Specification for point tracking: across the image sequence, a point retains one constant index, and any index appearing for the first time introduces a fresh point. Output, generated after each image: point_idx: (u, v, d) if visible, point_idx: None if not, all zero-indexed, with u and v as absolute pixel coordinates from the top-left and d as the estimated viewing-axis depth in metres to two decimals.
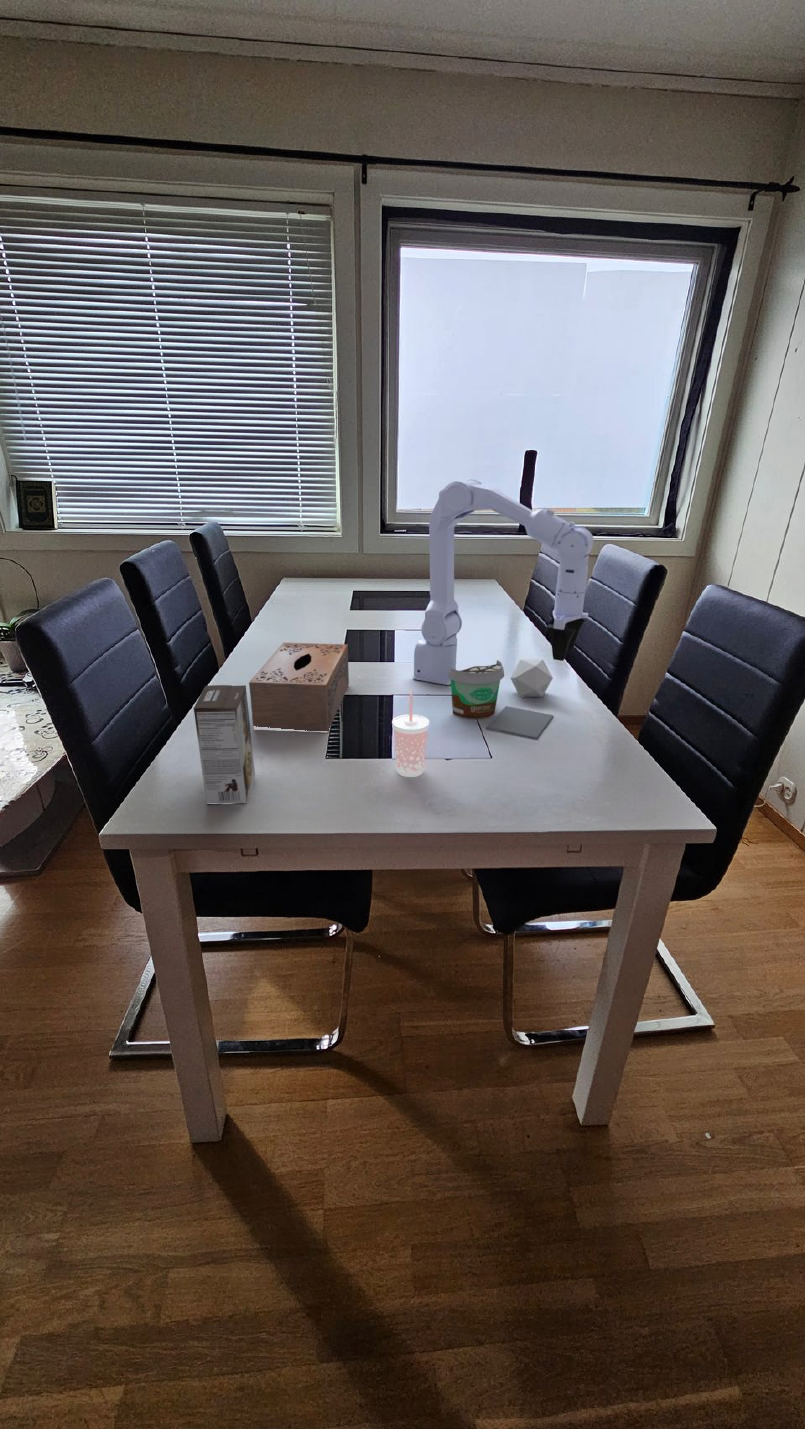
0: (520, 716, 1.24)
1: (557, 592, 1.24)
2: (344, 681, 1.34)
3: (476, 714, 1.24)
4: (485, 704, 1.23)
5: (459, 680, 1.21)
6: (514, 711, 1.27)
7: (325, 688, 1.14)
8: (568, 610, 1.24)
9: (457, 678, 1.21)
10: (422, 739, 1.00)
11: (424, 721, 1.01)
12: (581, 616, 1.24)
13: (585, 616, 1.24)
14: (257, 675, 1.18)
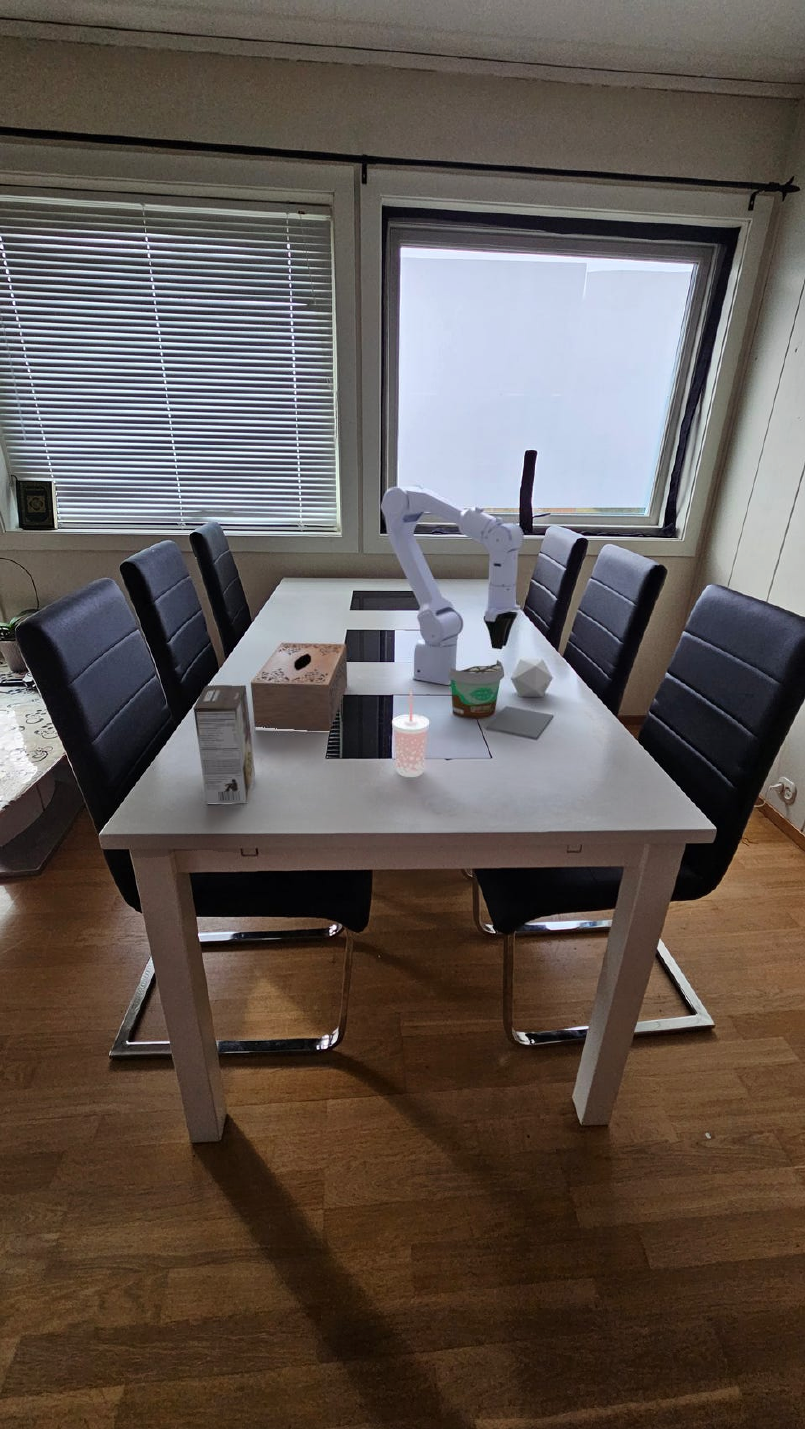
0: (520, 716, 1.24)
1: (489, 586, 1.28)
2: (343, 681, 1.35)
3: (476, 714, 1.24)
4: (485, 704, 1.23)
5: (459, 680, 1.21)
6: (514, 711, 1.27)
7: (327, 688, 1.14)
8: (499, 603, 1.27)
9: (457, 678, 1.21)
10: (422, 739, 1.00)
11: (424, 721, 1.01)
12: (513, 608, 1.28)
13: (517, 608, 1.28)
14: (258, 676, 1.18)
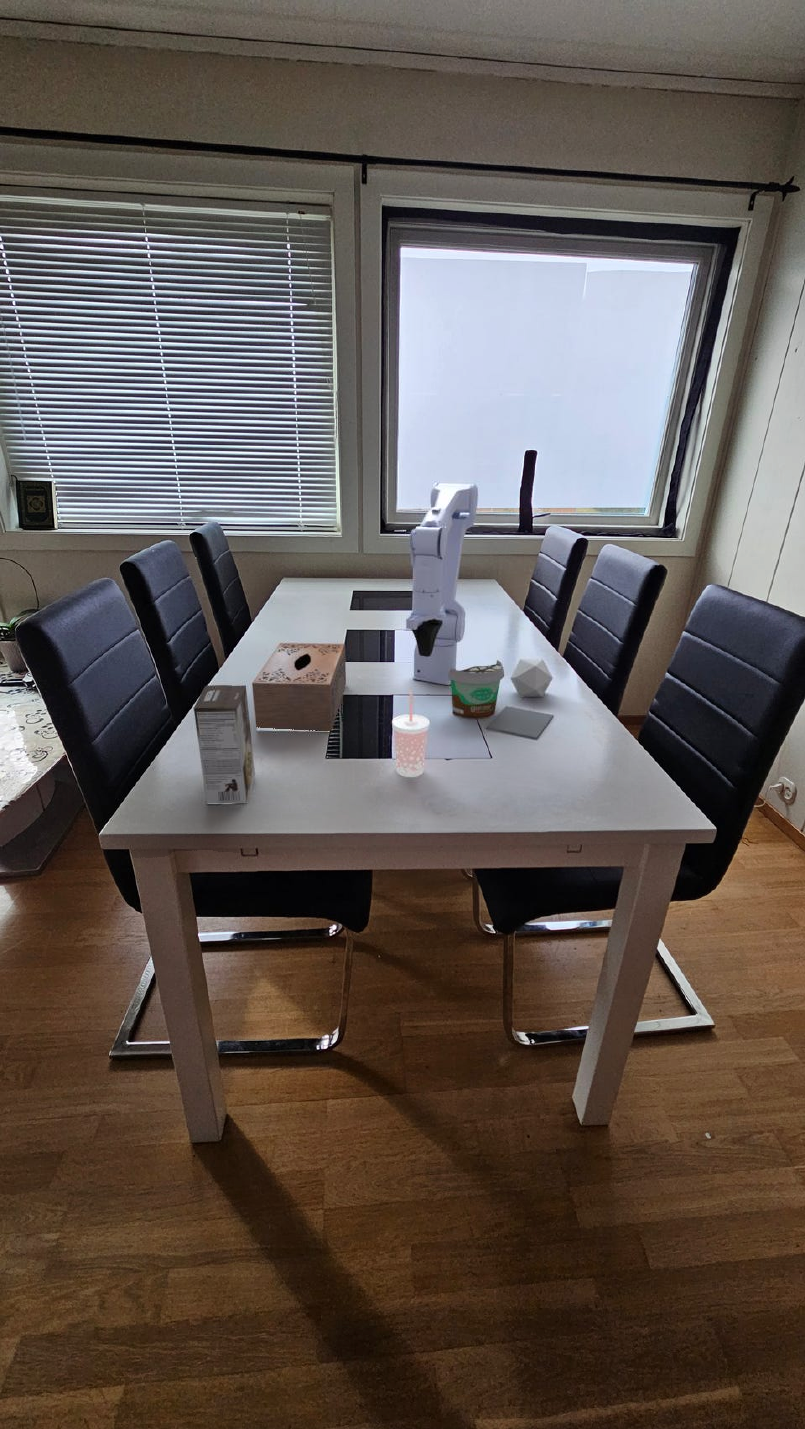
0: (520, 716, 1.24)
1: (413, 591, 1.22)
2: None
3: (476, 714, 1.24)
4: (485, 704, 1.23)
5: (459, 680, 1.21)
6: (514, 711, 1.27)
7: (329, 687, 1.14)
8: (423, 610, 1.21)
9: (457, 678, 1.21)
10: (422, 739, 1.00)
11: (424, 721, 1.01)
12: (437, 616, 1.22)
13: (441, 616, 1.22)
14: (259, 676, 1.17)
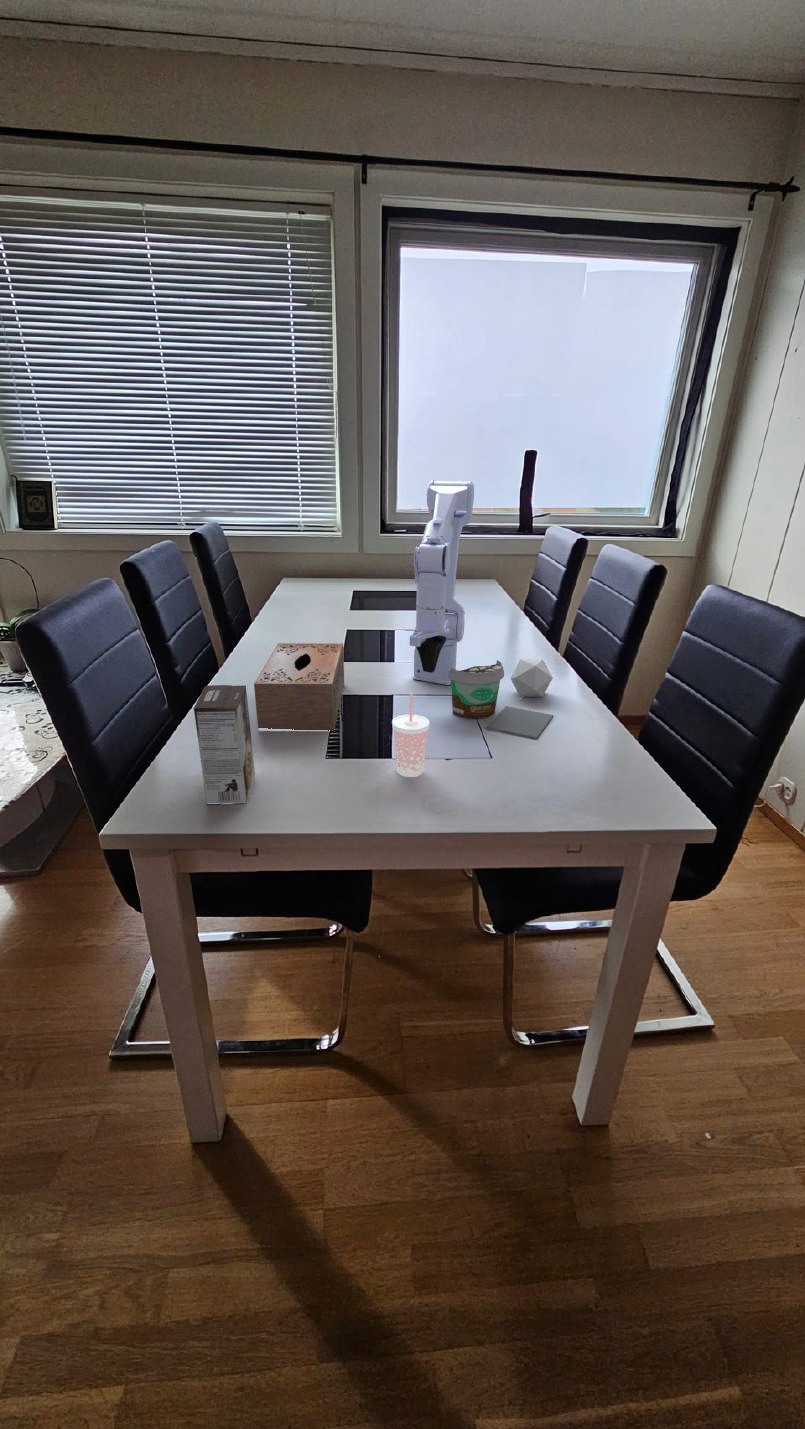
0: (520, 716, 1.24)
1: (416, 608, 1.22)
2: None
3: (476, 714, 1.24)
4: (485, 704, 1.23)
5: (459, 680, 1.21)
6: (514, 711, 1.27)
7: (331, 687, 1.14)
8: (426, 626, 1.21)
9: (457, 678, 1.21)
10: (422, 739, 1.00)
11: (424, 721, 1.01)
12: (441, 632, 1.22)
13: (445, 632, 1.22)
14: (261, 676, 1.17)
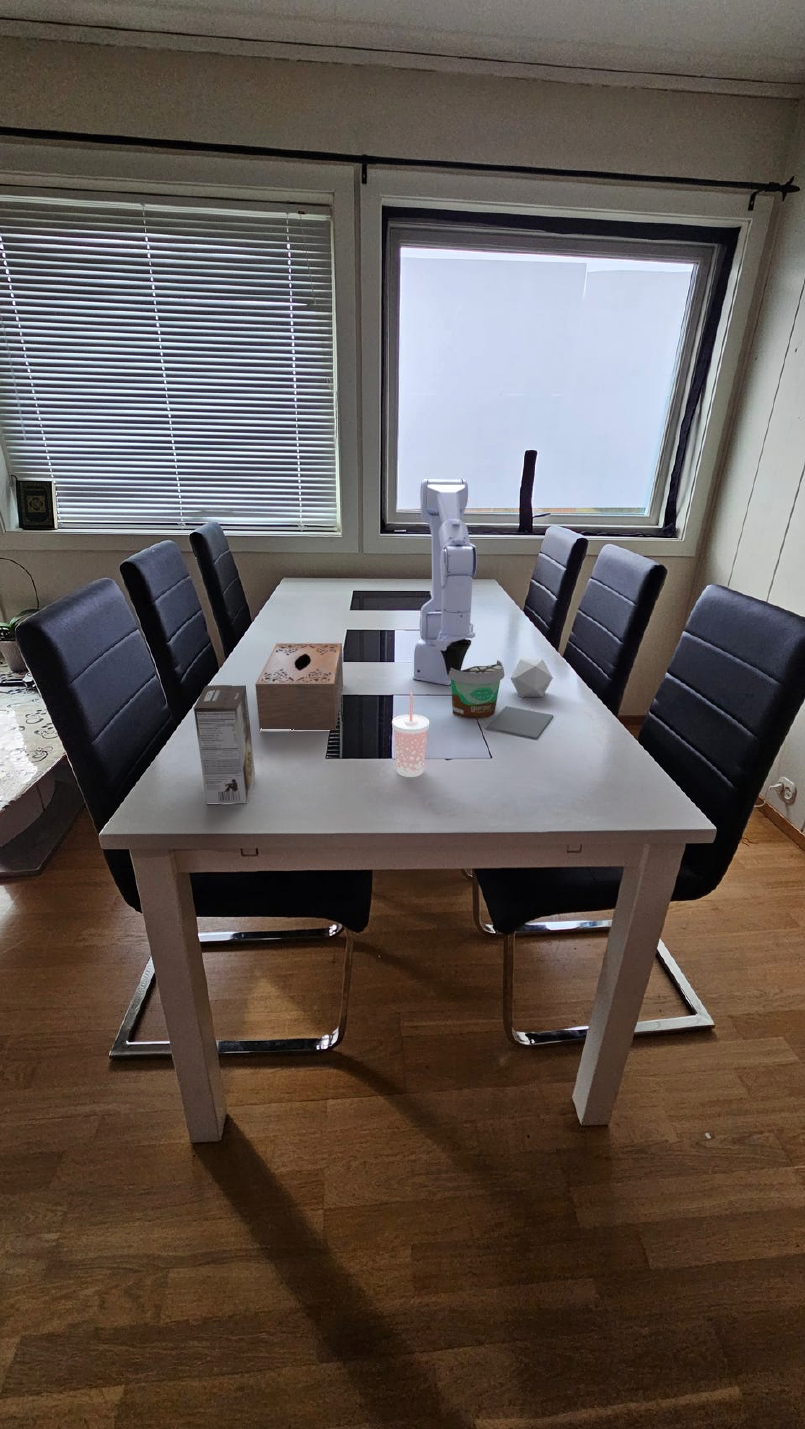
0: (520, 716, 1.24)
1: (442, 611, 1.20)
2: (341, 680, 1.35)
3: (476, 714, 1.24)
4: (485, 704, 1.23)
5: (459, 680, 1.21)
6: (514, 711, 1.27)
7: (333, 687, 1.14)
8: (452, 630, 1.19)
9: (457, 678, 1.21)
10: (422, 739, 1.00)
11: (424, 721, 1.01)
12: (467, 636, 1.20)
13: (471, 636, 1.20)
14: (262, 677, 1.17)
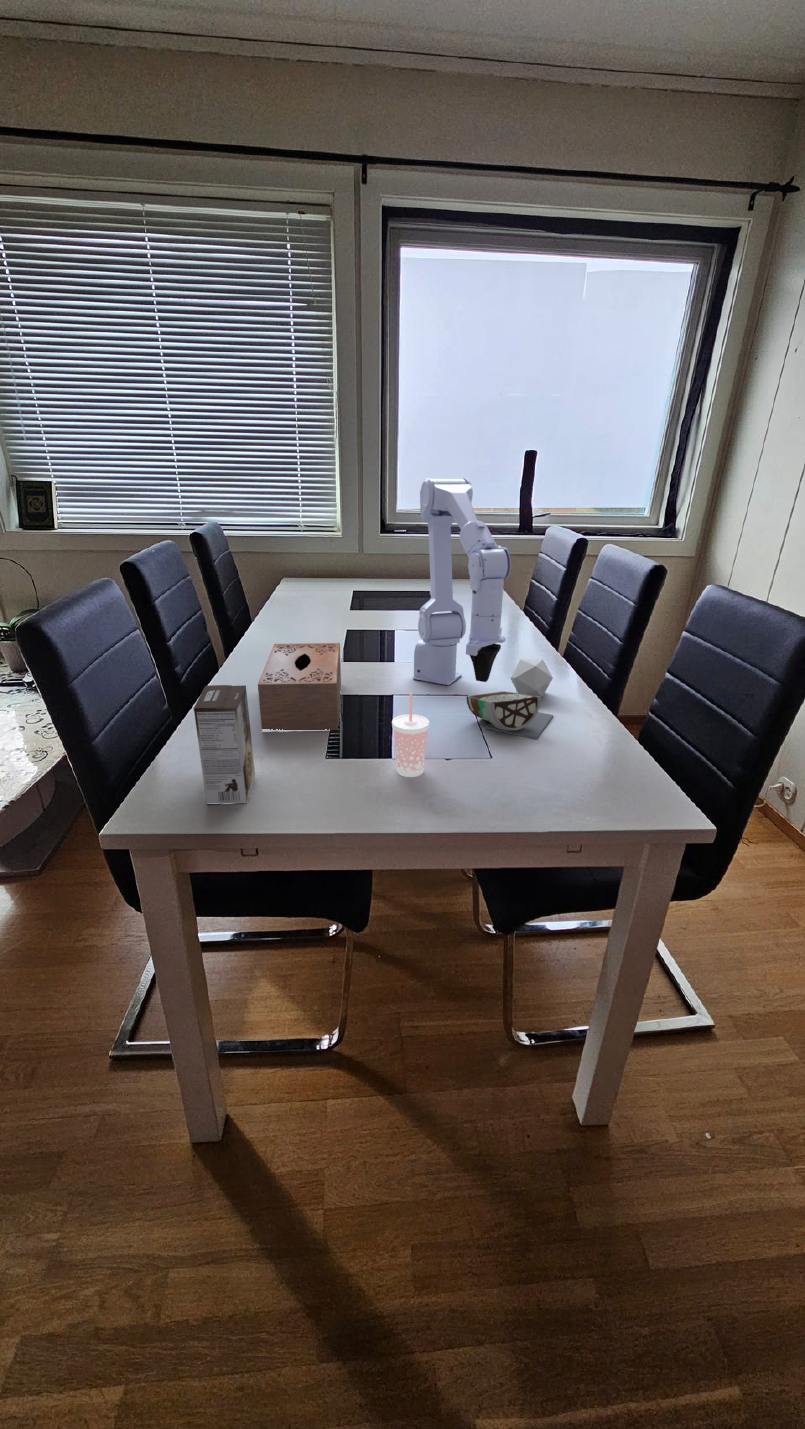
0: None
1: (472, 615, 1.17)
2: None
3: None
4: None
5: (489, 717, 1.14)
6: None
7: (335, 686, 1.15)
8: (482, 634, 1.17)
9: (489, 715, 1.14)
10: (422, 739, 1.00)
11: (424, 721, 1.01)
12: (497, 641, 1.17)
13: (501, 641, 1.17)
14: (263, 677, 1.17)
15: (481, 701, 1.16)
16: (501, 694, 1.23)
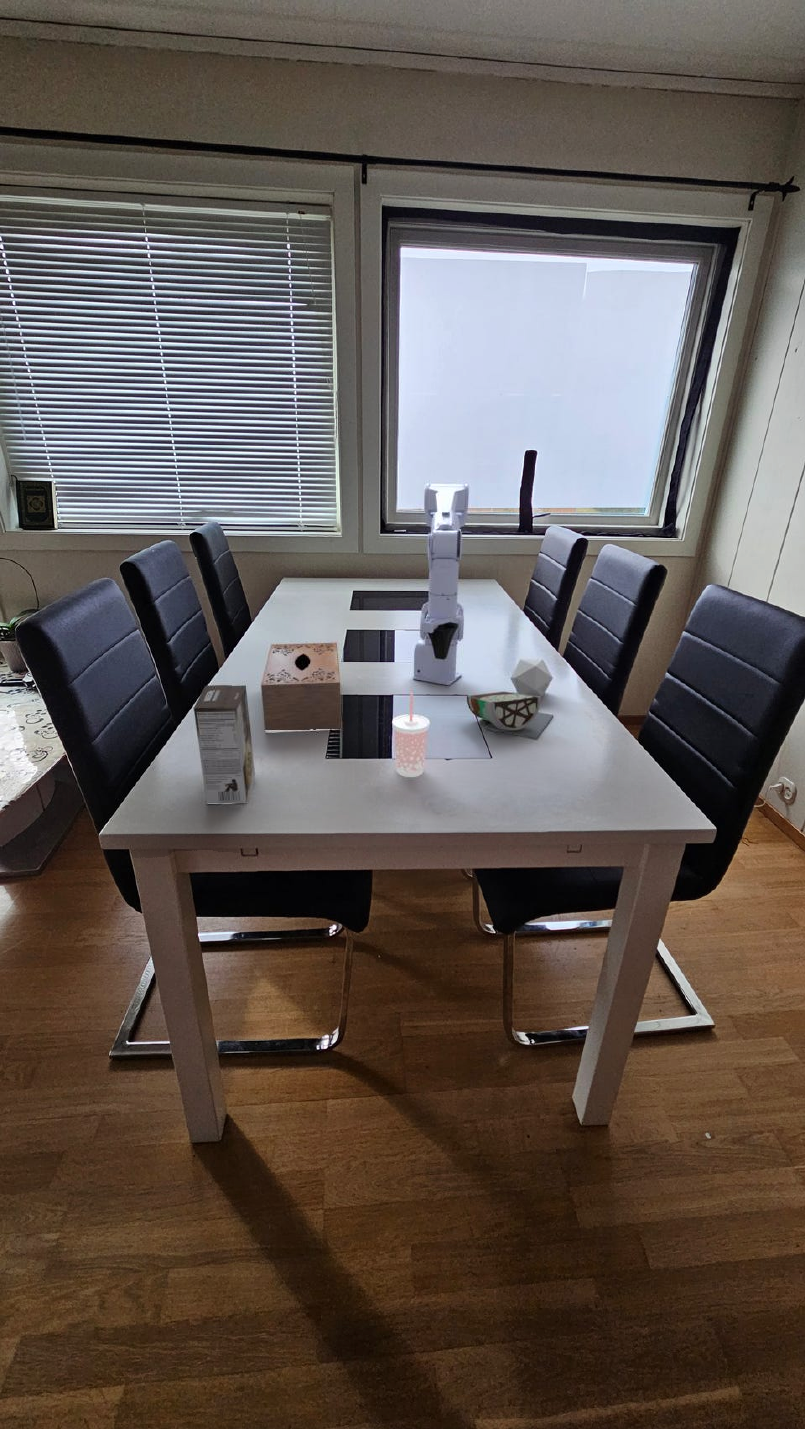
0: None
1: (429, 594, 1.22)
2: None
3: None
4: None
5: (489, 717, 1.14)
6: None
7: (339, 685, 1.15)
8: (439, 613, 1.21)
9: (489, 715, 1.14)
10: (422, 739, 1.00)
11: (424, 721, 1.01)
12: (453, 619, 1.22)
13: (457, 619, 1.22)
14: (265, 678, 1.17)
15: (481, 701, 1.16)
16: (501, 694, 1.23)
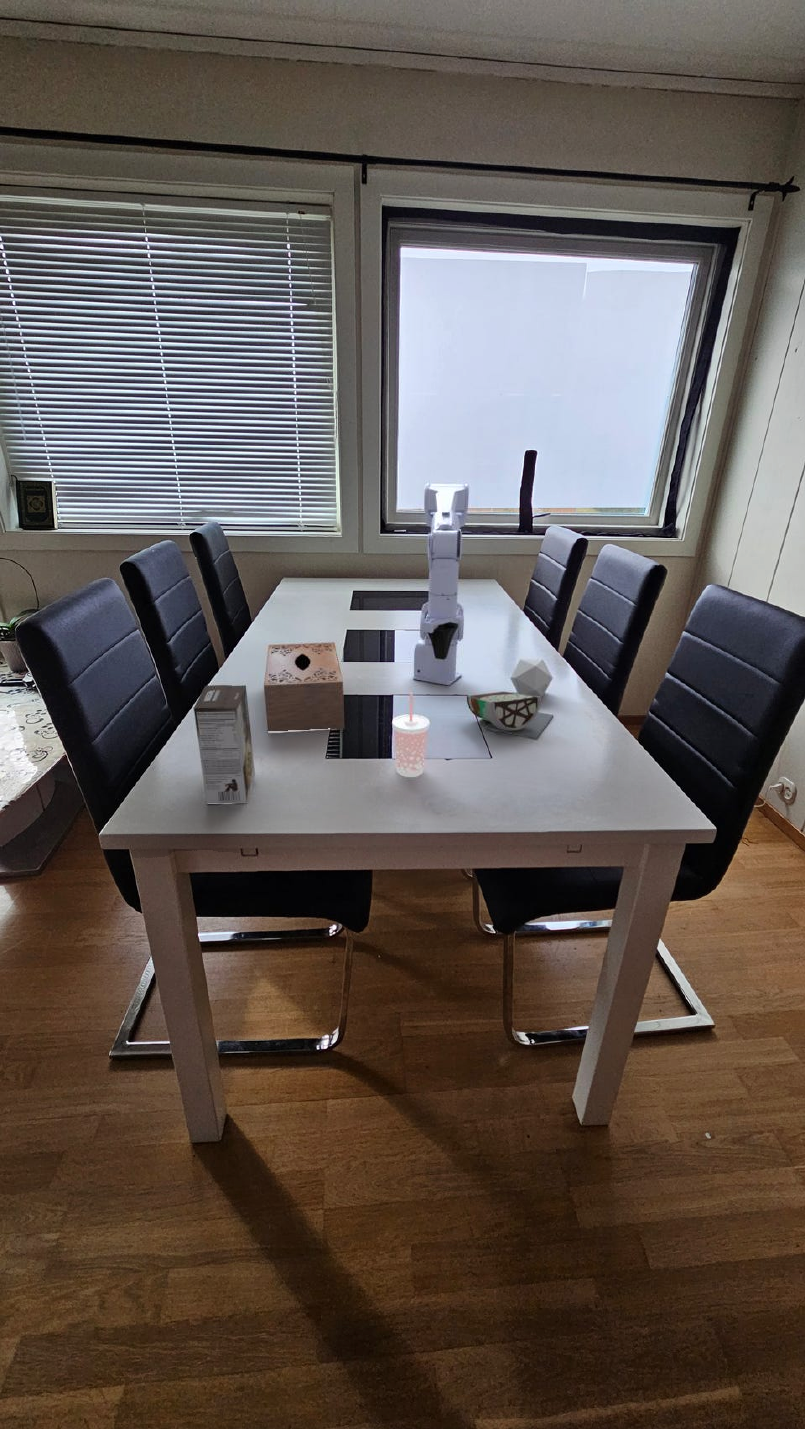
0: None
1: (429, 594, 1.22)
2: None
3: None
4: None
5: (489, 717, 1.14)
6: None
7: (342, 685, 1.15)
8: (439, 613, 1.21)
9: (489, 715, 1.14)
10: (422, 739, 1.00)
11: (424, 721, 1.01)
12: (453, 619, 1.22)
13: (457, 619, 1.22)
14: (267, 678, 1.16)
15: (481, 701, 1.16)
16: (501, 694, 1.23)
